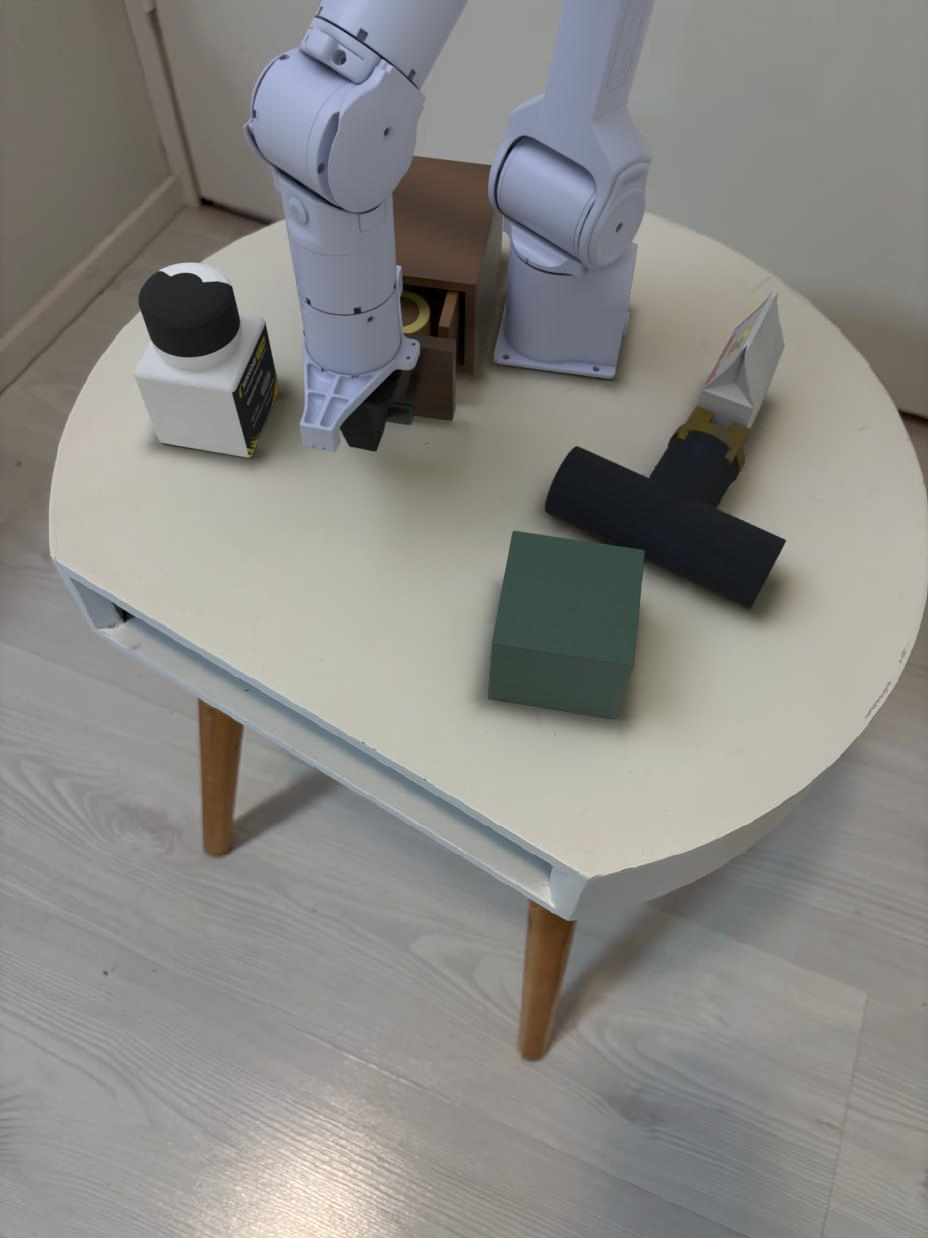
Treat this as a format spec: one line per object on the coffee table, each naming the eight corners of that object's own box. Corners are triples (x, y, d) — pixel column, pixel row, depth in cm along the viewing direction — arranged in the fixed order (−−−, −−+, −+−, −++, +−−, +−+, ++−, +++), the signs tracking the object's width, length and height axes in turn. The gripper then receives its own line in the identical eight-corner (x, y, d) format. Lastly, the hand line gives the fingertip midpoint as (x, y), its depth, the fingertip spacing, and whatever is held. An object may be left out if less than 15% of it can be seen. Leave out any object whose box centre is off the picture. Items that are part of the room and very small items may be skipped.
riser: (626, 610, 64) (645, 549, 58) (615, 719, 59) (633, 665, 53) (506, 592, 64) (512, 529, 58) (487, 698, 60) (491, 643, 54)
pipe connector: (626, 368, 68) (830, 455, 64) (615, 420, 72) (806, 503, 68) (548, 480, 63) (764, 581, 59) (542, 528, 67) (742, 624, 63)
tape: (436, 325, 74) (436, 293, 72) (424, 369, 72) (423, 338, 69) (375, 317, 75) (372, 284, 72) (361, 360, 72) (358, 329, 70)
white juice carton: (761, 405, 73) (802, 299, 65) (731, 466, 70) (770, 363, 61) (715, 388, 74) (750, 281, 65) (684, 447, 71) (716, 344, 62)
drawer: (442, 464, 69) (441, 395, 63) (300, 443, 69) (286, 374, 64) (480, 305, 77) (483, 232, 71) (353, 289, 78) (346, 215, 72)
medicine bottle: (251, 460, 70) (218, 332, 59) (157, 444, 70) (108, 315, 60) (281, 389, 73) (254, 257, 63) (191, 374, 74) (150, 241, 64)
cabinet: (473, 375, 74) (476, 284, 67) (327, 354, 75) (314, 263, 68) (501, 259, 81) (506, 166, 74) (366, 242, 82) (358, 148, 75)
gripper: (378, 384, 51) (391, 536, 62) (447, 213, 58) (447, 378, 70) (251, 360, 51) (287, 515, 63) (334, 193, 59) (353, 360, 70)
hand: (365, 442), depth 66 cm, fingers closed
